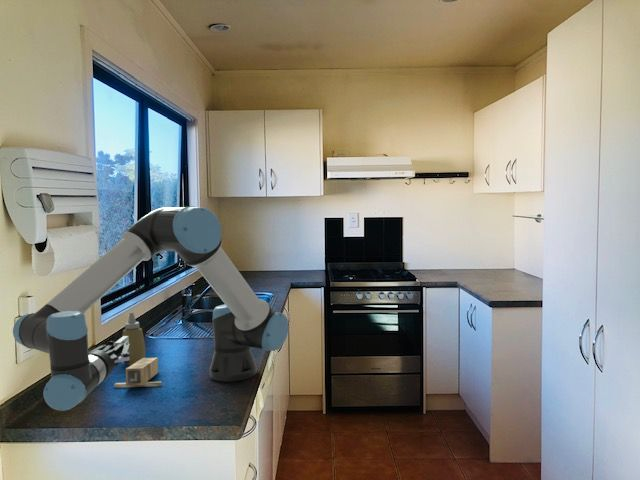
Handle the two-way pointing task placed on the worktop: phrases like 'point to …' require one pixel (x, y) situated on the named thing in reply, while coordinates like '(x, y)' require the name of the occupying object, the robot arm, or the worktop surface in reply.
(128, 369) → the oak block
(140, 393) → the worktop surface
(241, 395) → the worktop surface
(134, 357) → the squeeze bottle
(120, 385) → the maple strip
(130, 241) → the robot arm
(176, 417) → the worktop surface
